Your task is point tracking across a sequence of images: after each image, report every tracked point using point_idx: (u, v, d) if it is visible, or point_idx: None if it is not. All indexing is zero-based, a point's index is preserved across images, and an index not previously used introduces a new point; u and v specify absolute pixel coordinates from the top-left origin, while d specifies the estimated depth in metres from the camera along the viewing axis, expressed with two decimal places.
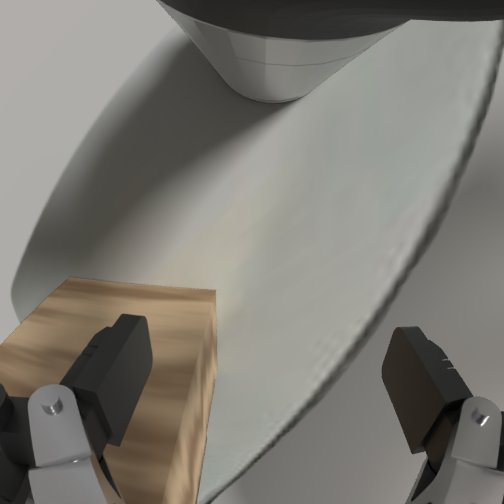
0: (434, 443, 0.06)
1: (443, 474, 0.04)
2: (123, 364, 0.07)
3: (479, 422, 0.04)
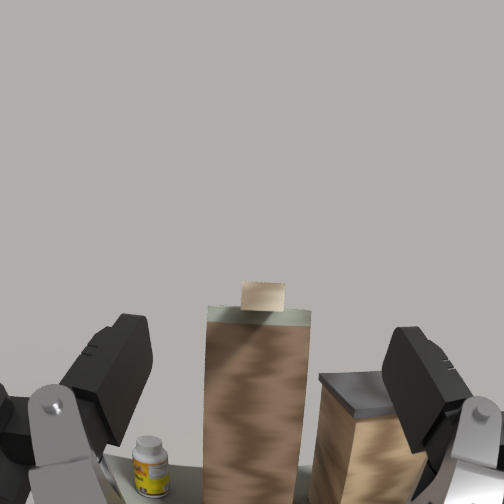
0: (434, 444, 0.06)
1: (443, 474, 0.04)
2: (123, 364, 0.07)
3: (479, 422, 0.04)
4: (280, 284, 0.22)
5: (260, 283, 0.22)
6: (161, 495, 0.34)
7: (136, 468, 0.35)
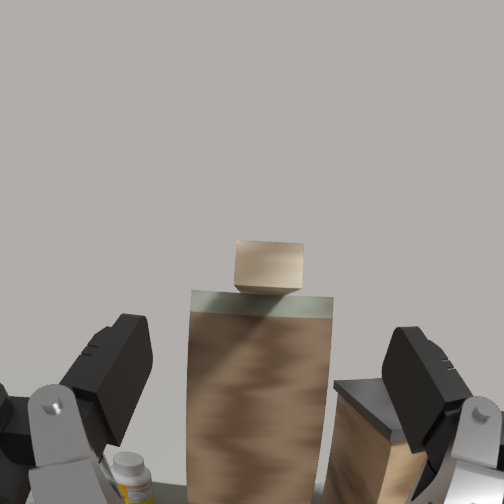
0: (434, 443, 0.06)
1: (443, 474, 0.04)
2: (123, 364, 0.07)
3: (479, 422, 0.04)
4: (297, 245, 0.14)
5: (265, 243, 0.14)
6: None
7: None
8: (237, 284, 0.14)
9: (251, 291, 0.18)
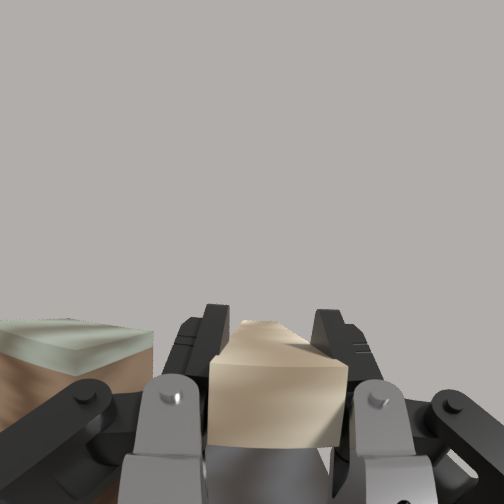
0: None
1: (355, 473, 0.04)
2: None
3: (370, 405, 0.05)
4: (335, 370, 0.06)
5: (270, 369, 0.06)
6: None
7: None
8: (214, 443, 0.06)
9: None
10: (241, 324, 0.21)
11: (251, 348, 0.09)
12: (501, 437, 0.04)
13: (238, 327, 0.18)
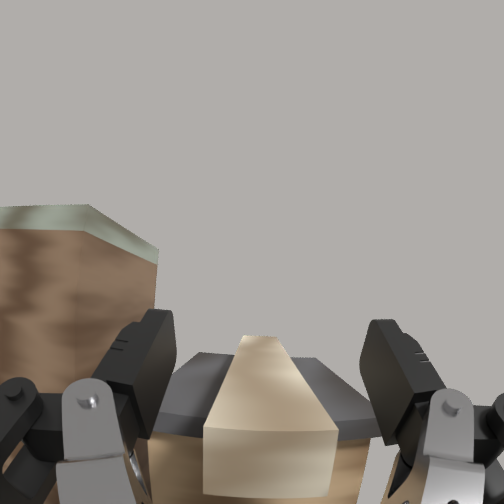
0: (405, 436, 0.06)
1: (417, 471, 0.04)
2: (154, 357, 0.08)
3: (448, 414, 0.05)
4: (325, 433, 0.06)
5: (262, 433, 0.06)
6: None
7: None
8: (210, 492, 0.06)
9: None
10: (240, 344, 0.21)
11: (246, 395, 0.09)
12: None
13: (237, 351, 0.17)
